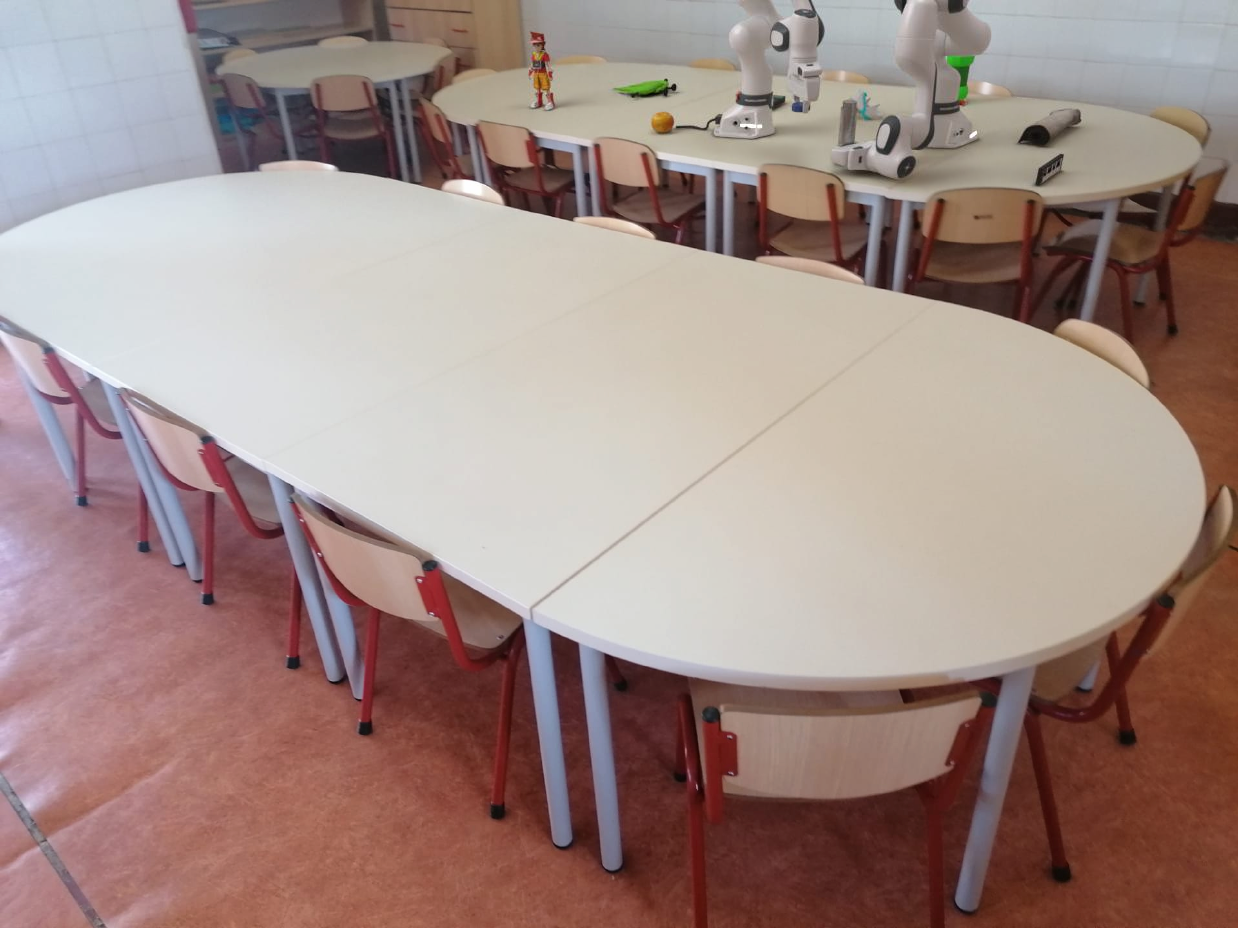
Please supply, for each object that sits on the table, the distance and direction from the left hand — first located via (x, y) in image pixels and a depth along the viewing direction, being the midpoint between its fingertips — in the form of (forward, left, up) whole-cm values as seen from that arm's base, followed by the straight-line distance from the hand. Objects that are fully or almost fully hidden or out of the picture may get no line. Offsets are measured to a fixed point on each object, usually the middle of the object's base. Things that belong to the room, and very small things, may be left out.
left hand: (801, 111), depth 297 cm
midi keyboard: (+77, -17, -15) cm, 80 cm away
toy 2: (-76, +94, -15) cm, 122 cm away
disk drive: (-18, +70, -15) cm, 74 cm away
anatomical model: (+21, +56, -15) cm, 62 cm away
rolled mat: (+84, +31, -15) cm, 91 cm away
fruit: (-53, +30, -15) cm, 63 cm away
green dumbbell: (+55, +78, -15) cm, 97 cm away
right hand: (+15, -5, -10) cm, 18 cm away
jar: (+16, -5, -15) cm, 22 cm away
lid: (0, 0, +2) cm, 2 cm away
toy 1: (-113, +66, -15) cm, 132 cm away
